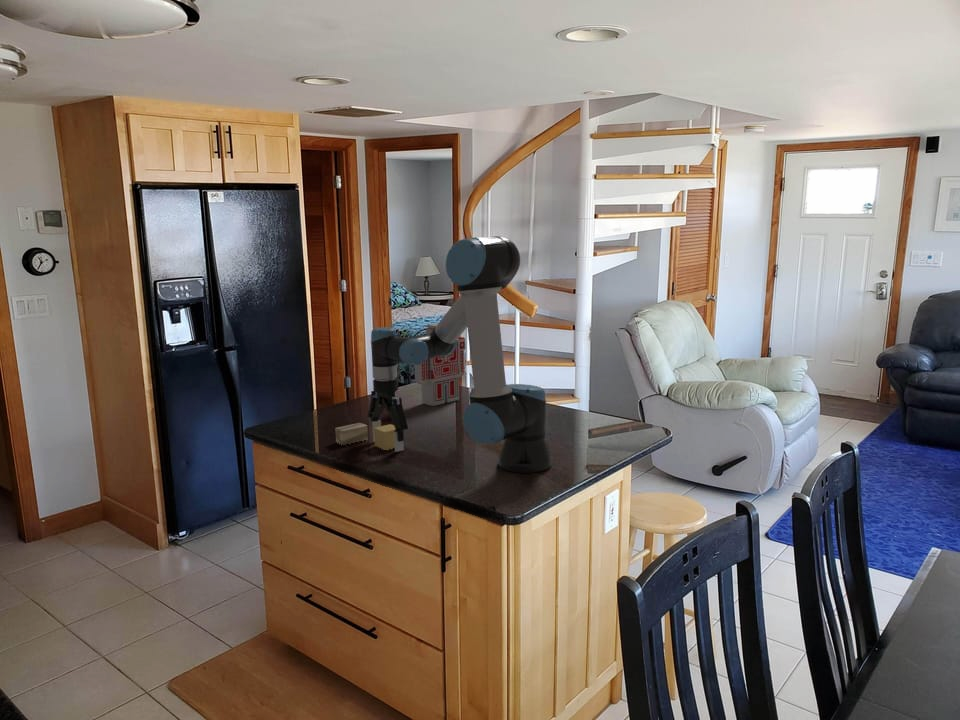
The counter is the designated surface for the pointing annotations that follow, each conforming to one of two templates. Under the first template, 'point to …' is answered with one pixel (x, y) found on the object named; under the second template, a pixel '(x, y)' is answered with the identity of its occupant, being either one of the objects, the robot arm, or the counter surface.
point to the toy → (441, 374)
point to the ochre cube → (385, 437)
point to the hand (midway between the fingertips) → (388, 445)
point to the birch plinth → (351, 433)
